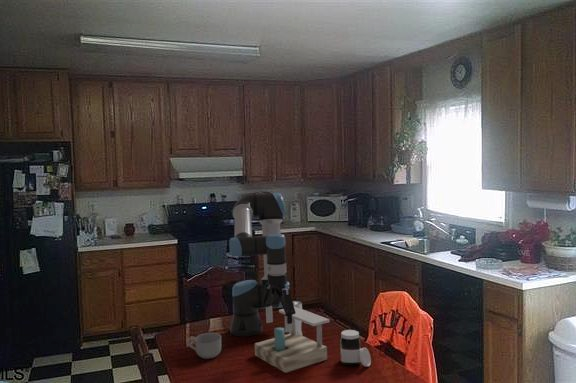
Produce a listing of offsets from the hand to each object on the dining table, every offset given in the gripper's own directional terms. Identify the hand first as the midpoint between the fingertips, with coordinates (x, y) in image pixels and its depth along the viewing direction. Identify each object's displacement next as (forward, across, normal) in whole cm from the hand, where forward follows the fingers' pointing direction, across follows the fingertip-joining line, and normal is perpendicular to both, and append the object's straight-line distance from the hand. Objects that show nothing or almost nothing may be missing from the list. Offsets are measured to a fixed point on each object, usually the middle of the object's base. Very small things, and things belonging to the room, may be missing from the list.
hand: (278, 326), depth 196 cm
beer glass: (+14, -18, +21) cm, 31 cm away
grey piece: (+9, 0, +12) cm, 15 cm away
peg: (+13, +1, 0) cm, 13 cm away
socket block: (+14, 0, +5) cm, 14 cm away
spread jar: (+14, +22, +21) cm, 33 cm away
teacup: (+14, -24, -21) cm, 35 cm away
